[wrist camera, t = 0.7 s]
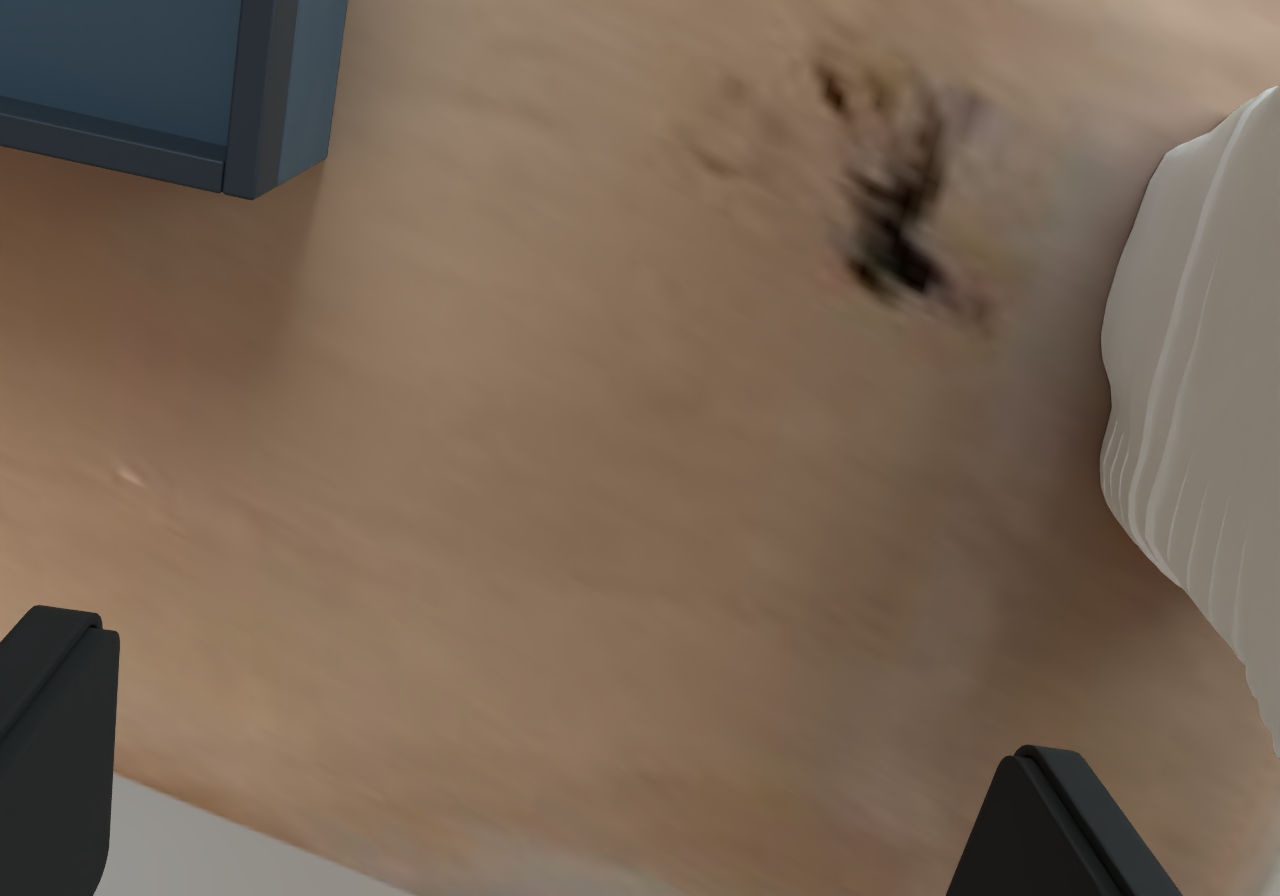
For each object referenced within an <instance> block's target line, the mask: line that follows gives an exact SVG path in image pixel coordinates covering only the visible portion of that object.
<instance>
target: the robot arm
mask: <svg viewBox="0 0 1280 896" xmlns="http://www.w3.org/2000/svg"><path fill="white" fill-rule="evenodd" d="M119 651H120V638H119V634H118V633H117V632H116V631H112V630H105V629H103V628H102V620H101V617H100V616H99V615H98V614H97V613H92V612H85V611H78V610H70V609H63V608H56V607H49V606H42V605H37V606H34V607H32V608H31V609H30V610H29V611H28V612H27V613H26V614H25V615H24V616H23V617H22V619H21V620H20V621H19V622H18V623H17V624H16V625H15V626H14V628H13V629H12V630H11V631H10V632H9V633H8V634H7V635H6V637H5V638H4V639H3V640H2V641H1V642H0V896H93V894H94V892H95V891H96V888H97V886H98V884H99V882H100V879H101V877H102V874H103V871H104V868H105V864H106V860H107V856H108V850H109V837H110V819H111V800H112V799H111V798H112V782H113V763H114V745H115V726H116V707H117V689H118V670H119ZM946 896H1183V895H1182V894H1181V892H1180V891H1179V890H1178V888H1177V887H1176V885H1175V884H1174V883H1173V881H1172V880H1171V878H1170V877H1169V876H1168V874H1167V873H1166V872H1165V870H1164V869H1163V867H1162V866H1161V865H1160V863H1159V862H1158V860H1157V859H1156V858H1155V856H1154V855H1153V854H1152V852H1151V851H1150V849H1149V848H1148V847H1147V845H1146V844H1145V842H1144V841H1143V840H1142V838H1141V837H1140V836H1139V834H1138V833H1137V831H1136V830H1135V829H1134V827H1133V826H1132V824H1131V823H1130V822H1129V820H1128V819H1127V818H1126V816H1125V815H1124V813H1123V812H1122V811H1121V809H1120V808H1119V806H1118V805H1117V804H1116V802H1115V801H1114V800H1113V798H1112V797H1111V795H1110V794H1109V793H1108V791H1107V790H1106V788H1105V787H1104V786H1103V784H1102V783H1101V782H1100V780H1099V779H1098V777H1097V776H1096V775H1095V773H1094V772H1093V770H1092V769H1091V768H1090V766H1089V765H1088V764H1087V762H1086V761H1085V759H1084V758H1083V757H1082V756H1081V755H1080V754H1079V753H1077V752H1074V751H1070V750H1063V749H1056V748H1049V747H1042V746H1034V745H1024V746H1021V747H1020V748H1019V749H1018V750H1017V751H1016V752H1015V754H1014V756H1011V755H1010V756H1006V757H1004V758H1003V759H1002V760H1001V762H1000V763H999V765H998V767H997V770H996V772H995V775H994V777H993V780H992V782H991V785H990V787H989V790H988V792H987V794H986V797H985V799H984V802H983V804H982V807H981V809H980V812H979V814H978V817H977V819H976V822H975V824H974V827H973V829H972V832H971V834H970V837H969V839H968V842H967V844H966V846H965V849H964V851H963V854H962V856H961V859H960V861H959V864H958V866H957V869H956V871H955V874H954V876H953V879H952V881H951V884H950V886H949V889H948V891H947V893H946Z"/></svg>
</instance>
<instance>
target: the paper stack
mask: <svg viewBox="0 0 1280 896" xmlns="http://www.w3.org/2000/svg"><path fill="white" fill-rule="evenodd" d="M1101 348H1102V359H1103V363H1104V366H1105V369H1106V373H1107V376H1108V379H1109V382H1110V386H1111V403H1112V409H1111V413H1110V417H1109V421H1108V425H1107V429H1106V432H1105V436H1104V439H1103V444H1102V449H1101V454H1100V483H1101V488H1102V491H1103V494H1104V497H1105V500H1106V503H1107V505H1108V506H1109V508H1110V510H1111V512H1112V514H1113V515H1114V516H1115V518H1116V519H1117V521H1118V522H1119V523H1120V525H1121V526H1122V527H1123V529H1124V530H1125V531H1126V533H1127V534H1128V535H1129V537H1130V538H1131V539H1132V540H1133V542H1134V543H1135V544H1137V545H1138V547H1139V548H1140V549H1141V551H1142V552H1143V553H1144V554H1145V555H1146V556H1147V557H1148V558H1149V559H1150V560H1151V561H1152V562H1153V563H1154V564H1155V565H1156V566H1157V567H1158V569H1159V570H1160V571H1161V572H1162V573H1163V574H1164V575H1166V576H1167V577H1168V578H1169V579H1170V580H1172V581H1173V582H1174V583H1175V584H1176V585H1177V586H1179V587H1181V588H1182V589H1183V590H1184V591H1185V592H1186V593H1187V594H1188V596H1189V597H1190V598H1191V599H1192V601H1193V602H1194V603H1195V604H1196V606H1197V607H1198V609H1199V610H1200V611H1201V613H1202V614H1203V615H1204V616H1205V618H1206V619H1207V620H1208V621H1209V623H1210V624H1211V625H1212V626H1213V628H1214V629H1215V630H1216V631H1217V632H1218V634H1219V635H1220V636H1221V637H1222V638H1223V639H1224V640H1225V641H1226V642H1227V643H1228V645H1229V646H1230V648H1231V649H1232V650H1233V652H1234V653H1235V655H1236V656H1237V658H1238V659H1239V660H1240V661H1241V662H1242V663H1243V664H1244V665H1245V666H1246V672H1245V677H1246V680H1247V683H1248V686H1249V689H1250V692H1251V694H1252V695H1253V696H1254V697H1255V698H1256V699H1257V700H1258V710H1259V713H1260V716H1261V719H1262V722H1263V724H1264V726H1265V727H1266V728H1267V729H1268V730H1269V731H1270V732H1271V733H1272V742H1273V750H1274V754H1275V755H1276V756H1277V757H1278V758H1279V759H1280V84H1279V86H1277V87H1273V88H1269V89H1267V90H1266V91H1264V92H1263V93H1261V94H1260V95H1259V96H1257V97H1255V98H1253V99H1251V100H1249V101H1247V102H1246V103H1244V104H1243V105H1241V106H1240V107H1238V108H1237V109H1236V110H1235V111H1233V112H1232V113H1230V115H1229V116H1228V117H1227V118H1226V119H1225V120H1223V121H1222V122H1221V123H1220V124H1219V125H1218V126H1217V127H1215V128H1214V129H1213V130H1212V131H1211V132H1209V133H1207V134H1205V135H1201V136H1199V137H1197V138H1195V139H1194V140H1191V141H1189V142H1186V143H1183V144H1180V145H1178V146H1177V147H1175V148H1173V149H1172V150H1170V151H1169V152H1167V153H1166V154H1165V155H1164V157H1163V159H1162V161H1161V162H1160V164H1159V166H1158V168H1157V169H1156V171H1155V173H1154V175H1153V176H1152V178H1151V179H1150V181H1149V184H1148V186H1147V189H1146V192H1145V195H1144V198H1143V201H1142V203H1141V206H1140V209H1139V212H1138V215H1137V217H1136V220H1135V223H1134V226H1133V229H1132V231H1131V233H1130V235H1129V238H1128V240H1127V242H1126V245H1125V247H1124V250H1123V252H1122V255H1121V258H1120V260H1119V263H1118V266H1117V270H1116V273H1115V276H1114V280H1113V283H1112V286H1111V290H1110V293H1109V296H1108V300H1107V304H1106V309H1105V314H1104V320H1103V327H1102V333H1101Z"/></svg>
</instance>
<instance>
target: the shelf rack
mask: <svg viewBox="0 0 1280 896" xmlns="http://www.w3.org/2000/svg"><path fill="white" fill-rule="evenodd" d="M347 1H348V0H0V146H4V147H8V148H13V149H18V150H22V151H27V152H31V153H36V154H41V155H45V156H50V157H54V158H59V159H64V160H68V161H73V162H77V163H82V164H87V165H91V166H96V167H100V168H105V169H110V170H114V171H119V172H123V173H128V174H133V175H137V176H142V177H146V178H151V179H156V180H160V181H165V182H169V183H174V184H179V185H183V186H188V187H192V188H197V189H202V190H206V191H211V192H215V193H221V192H223V193H224V194H226V195H230V196H234V197H239V198H243V199H248V200H254V199H256V198H258V197H259V196H261V195H263V194H265V193H266V192H268V191H270V190H272V189H273V188H275V187H276V186H279V185H281V184H282V183H284V182H286V181H287V180H289V179H291V178H293V177H294V176H296V175H298V174H300V173H301V172H303V171H305V170H306V169H308V168H310V167H312V166H313V165H315V164H317V163H319V162H320V161H322V160H324V159H325V158H326V157H327V153H328V145H329V138H330V130H331V122H332V115H333V107H334V100H335V92H336V84H337V77H338V69H339V62H340V54H341V47H342V39H343V31H344V24H345V16H346V9H347Z"/></svg>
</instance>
